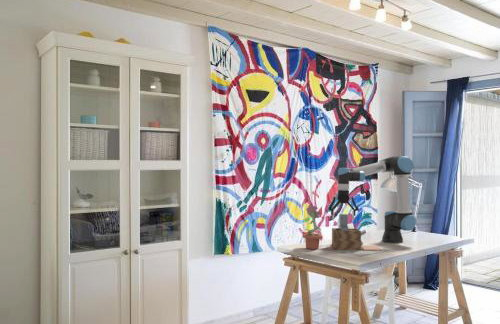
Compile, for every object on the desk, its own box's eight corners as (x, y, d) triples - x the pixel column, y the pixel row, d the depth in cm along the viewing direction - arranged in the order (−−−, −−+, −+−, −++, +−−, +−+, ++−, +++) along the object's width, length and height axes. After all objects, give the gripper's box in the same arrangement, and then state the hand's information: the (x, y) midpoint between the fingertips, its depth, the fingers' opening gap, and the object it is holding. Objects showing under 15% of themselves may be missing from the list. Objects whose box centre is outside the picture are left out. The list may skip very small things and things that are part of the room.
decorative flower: (327, 248, 301) (327, 205, 301) (317, 251, 291) (317, 206, 291) (309, 245, 311) (309, 203, 311) (298, 248, 300) (298, 205, 301)
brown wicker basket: (358, 246, 308) (359, 228, 308) (362, 250, 295) (362, 231, 295) (330, 246, 309) (330, 228, 310) (332, 249, 297) (332, 230, 297)
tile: (377, 247, 308) (377, 245, 308) (382, 250, 294) (382, 249, 294) (360, 246, 309) (360, 245, 309) (364, 250, 295) (364, 249, 295)
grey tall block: (345, 242, 309) (345, 213, 309) (348, 245, 296) (348, 215, 296) (338, 242, 309) (338, 213, 309) (340, 245, 296) (341, 215, 296)
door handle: (346, 253, 314) (371, 240, 310) (340, 243, 315) (365, 230, 311) (346, 248, 331) (370, 236, 327) (341, 239, 332) (364, 227, 328)
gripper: (360, 189, 306) (360, 220, 306) (324, 189, 307) (324, 219, 307) (362, 190, 298) (362, 221, 298) (326, 189, 300) (325, 220, 300)
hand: (343, 220), depth 303 cm, fingers open, 13 cm apart
